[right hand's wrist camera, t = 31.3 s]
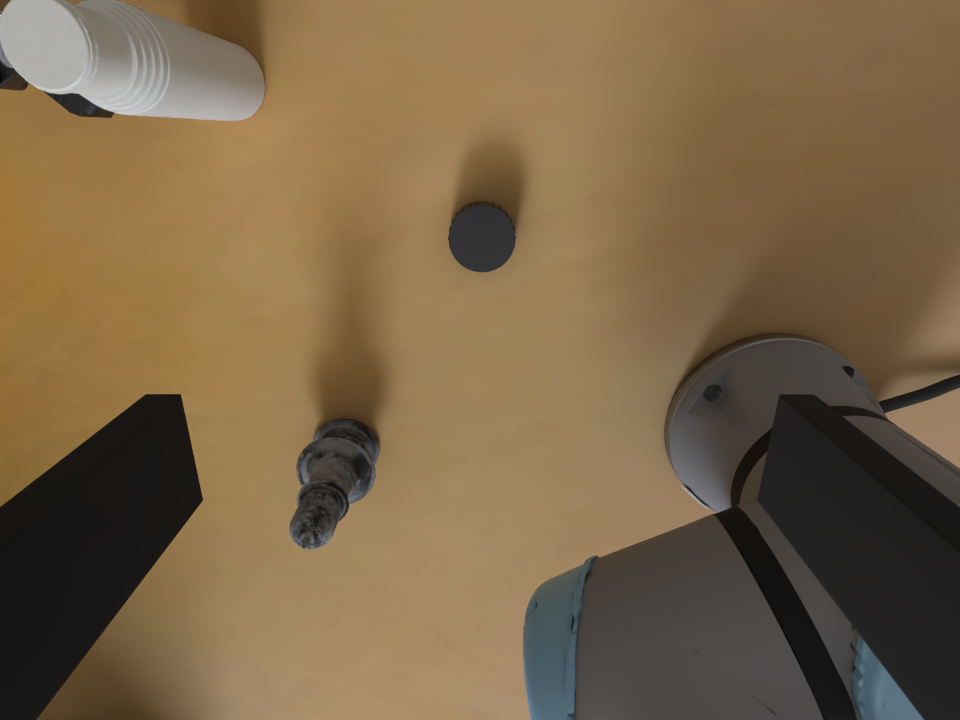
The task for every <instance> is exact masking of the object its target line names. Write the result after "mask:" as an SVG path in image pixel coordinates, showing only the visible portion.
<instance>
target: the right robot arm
mask: <svg viewBox="0 0 960 720" xmlns="http://www.w3.org/2000/svg"><path fill="white" fill-rule="evenodd" d="M957 388H960V375H957V376H954V377H951V378H948V379H945V380H942V381H940V382H938V383H935V384H933V385H930V386H928V387H925V388H923V389H920V390H917V391H913V392H910V393H907V394H903V395H900V396H897V397H893V398H890V399H887V400H883V401H880V402H878V401H877V399H876V397H875V396H874V394H873V392H872V390H871V389H870V387H869V385H868V383H867V382H866V380H865V379H864V377H863V376H862V375H861V373H860V372H859V371H858V370H857V369H856V368H855V367H854V366H853V365H852V364H851V363H850V362H849V361H848V360H847V359H846V358H845V357H843V356H842V355H840V354H839V353H838V352H836V351H834V350H833V349H831V348H829V347H828V346H826V345H824V344H822V343H820V342H818V341H816V340H813V339H810V338H807V337H804V336H799V335H793V334H766V335H759V336H754V337H750V338H747V339H743V340H740V341H738V342H735V343H733V344H730V345H728V346H726V347H724V348H722V349H721V350H719V351H717V352H715V353H714V354H712V355H711V356H709V357H708V358H707V359H705V360H704V361H703V362H702V363H700V364H699V365H698V366H697V367H696V368H695V369H694V370H693V371H692V372H691V373H690V374H689V375H688V377H687V378H686V379H685V380H684V381H683V383H682V384H681V386H680V387H679V389H678V390H677V392H676V394H675V395H674V398H673V400H672V402H671V404H670V407H669V410H668V413H667V417H666V421H665V429H664V439H665V447H666V452H667V455H668V458H669V461H670V463H671V465H672V467H673V469H674V471H675V473H676V474H677V476H678V478H679V479H680V481H681V482H682V483H683V485H684V486H685V487H686V488H687V489H688V490H689V491H688V490H687V489H685V488H684V487H682V486H681V485H680V486H681V487H682V488H683V489H684V490H685V491H687V492H688V493H689V494H690V495H691V496H692V497H693V498H694V499H695V500H696V501H697V502H698V503H699V504H700V505H702V506H703V507H705V506H707V507H709V508H710V509H712V510H714V511H715V512H717V513H716V514H712V515H709V516H707V517H704V518H702V519H699V520H697V521H694V522H692V523H689V524H687V525H685V526H682V527H679V528H677V529H674V530H671V531H669V532H666V533H664V534H661V535H658V536H656V537H653V538H650V539H648V540H645V541H642V542H640V543H637V544H635V545H632V546H629V547H627V548H624V549H621V550H619V551H616V552H613V553H611V554H608V555H606V556H603V557H598V556H597V555H596V556H593V557H590V558H588V559H587V560H586V561H585V562H584V564H583V565H580V566H578V567H576V568H574V569H572V570H569V571H567V572H565V573H563V574H561V575H558V576H556V577H554V578H552V579H549V580H547V581H546V582H544V583H543V584H542V585H540V586H539V587H538V588H537V590H536V591H535V592H534V594H533V596H532V597H531V599H530V602H529V604H528V607H527V611H526V616H525V625H524V630H523V665H524V676H525V686H526V693H527V700H528V706H529V711H530V717H531V720H960V468H958V467H957V466H955V465H954V464H952V463H951V462H949V461H948V460H946V459H945V458H943V457H942V456H940V455H939V454H938V453H936V452H935V451H933V450H932V449H930V448H929V447H927V446H926V445H924V444H923V443H921V442H920V441H918V440H917V439H915V438H914V437H913V436H911V435H910V434H908V433H907V432H905V431H904V430H902V429H901V428H899V427H898V426H896V425H895V424H894V423H892V422H891V421H889V420H888V419H887V417H886V415H885V413H886V412H889V411H893V410H896V409H899V408H903V407H906V406H909V405H913V404H916V403H919V402H923V401H926V400H929V399H932V398H934V397H937V396H940V395H942V394H944V393H947V392H949V391H952V390H954V389H957ZM202 501H203V498H202V493H201V488H200V484H199V479H198V474H197V469H196V465H195V460H194V455H193V450H192V446H191V441H190V436H189V431H188V426H187V422H186V417H185V412H184V407H183V403H182V398H181V394H146V395H144V396H143V397H142V398H141V399H139V400H138V401H137V402H135V403H134V404H133V405H131V406H130V407H129V408H128V409H126V410H125V411H124V412H122V413H121V414H120V415H119V416H117V417H116V418H115V419H113V420H112V421H111V422H110V423H108V424H107V425H106V426H104V427H103V428H102V429H101V430H99V431H98V432H97V433H95V434H94V435H93V436H91V437H90V438H89V439H88V440H86V441H85V442H84V443H82V444H81V445H80V446H79V447H77V448H76V449H75V450H73V451H72V452H71V453H70V454H68V455H67V456H66V457H64V458H63V459H62V460H61V461H59V462H58V463H57V464H55V465H54V466H53V467H52V468H50V469H49V470H48V471H46V472H45V473H44V474H42V475H41V476H40V477H39V478H37V479H36V480H35V481H33V482H32V483H31V484H30V485H28V486H27V487H26V488H24V489H23V490H22V491H21V492H19V493H18V494H17V495H15V496H14V497H13V498H12V499H10V500H9V501H8V502H6V503H5V504H4V505H2V506H1V507H0V720H36V719H37V718H38V717H39V715H40V714H41V713H42V712H43V710H44V709H45V708H46V706H47V705H48V704H49V702H50V701H51V700H52V698H53V697H54V696H55V694H56V693H57V692H58V690H59V689H60V688H61V686H62V685H63V684H64V683H65V681H66V680H67V679H68V677H69V676H70V675H71V673H72V672H73V671H74V669H75V668H76V667H77V665H78V664H79V663H80V661H81V660H82V659H83V658H84V656H85V655H86V654H87V652H88V651H89V650H90V648H91V647H92V646H93V644H94V643H95V642H96V640H97V639H98V638H99V636H100V635H101V634H102V632H103V631H104V630H105V629H106V627H107V626H108V625H109V623H110V622H111V621H112V619H113V618H114V617H115V615H116V614H117V613H118V611H119V610H120V609H121V607H122V606H123V605H124V604H125V602H126V601H127V600H128V598H129V597H130V596H131V594H132V593H133V592H134V590H135V589H136V588H137V586H138V585H139V584H140V582H141V581H142V580H143V578H144V577H145V576H146V575H147V573H148V572H149V571H150V569H151V568H152V567H153V565H154V564H155V563H156V561H157V560H158V559H159V557H160V556H161V555H162V553H163V552H164V551H165V550H166V548H167V547H168V546H169V544H170V543H171V542H172V540H173V539H174V538H175V536H176V535H177V534H178V532H179V531H180V530H181V528H182V527H183V526H184V524H185V523H186V522H187V521H188V519H189V518H190V517H191V515H192V514H193V513H194V511H195V510H196V509H197V507H198V506H199V505H200V503H201V502H202ZM703 504H704V505H705V506H704V505H703ZM705 508H706V507H705ZM706 509H707V508H706Z"/></svg>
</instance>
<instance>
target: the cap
mask: <svg viewBox="0 0 960 720" xmlns="http://www.w3.org/2000/svg"><path fill="white" fill-rule="evenodd" d="M449 231H450V232H449V237H448V239H449V247H450V249H451V252H452V254H453V256H454V258H455V259H456V260H457V261H458V262H459V263H460V264H461V265H462V266H463V267H465V268H467V269H469V270H471V271H475V272H489V271H493V270H495V269H497V268H499V267H501V266H502V265H503V264H504V263H505V262H506V261H507V260H508V259H509V258H510V256H511V254H512V252H513V249H514V247H515V239H516V237H515V232H514V231H515V228H514V226H513V225H512V220H511V218H509V216H508V214H507V212H505V211H504V210H503V209H501V207H499V206H497V205H495V204H494V203H493V204H492V203H489V202H486V201H485V202H478V201H477V202H475V203H472V204H471V203H470V204H469V205H467V206H465V207H463V208H462V209H461V210H460V211H459V212H457V214H456V216H455V218H454V219H453V220H452V225H451V226H450V229H449Z"/></svg>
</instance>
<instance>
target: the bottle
mask: <svg viewBox="0 0 960 720" xmlns="http://www.w3.org/2000/svg"><path fill="white" fill-rule="evenodd" d="M0 42H1V45H2V48H3V51H4V53H5V55H6V57H7V59H8V61H9V62H10V64H11V65H12V67H13V68H14V69H15V70H16V71H17V72H18V73H19V74H20V75H21V76H22V77H23V78H24V79H25V80H26V81H27V82H29V83H30V84H32V85H33V86H35V87H36V88H38V89H40V90H43V91H45V92H48V93H54V94H67V93H76V94H80V95H81V96H83V97H84V98H86V99H87V100H89V101H90V102H92V103H94V104H95V105H97V106H99V107H101V108H103V109H105V110H108V111H111V112H114V113H118V114H123V115H137V116H155V117H172V118H189V119H206V120H224V121H240V120H244V119H247V118H249V117H250V116H252V115H253V114H254V113H255V112H256V111H257V110H258V109H259V107H260V106H261V104H262V102H263V98H264V94H265V81H264V76H263V73H262V70H261V68H260V66H259V64H258V62H257V61H256V60H255V58H254V57H253V56H252V55H251V54H250V53H249V52H248V51H247V50H245V49H244V48H242V47H241V46H239V45H237V44H234V43H231V42H229V41H226V40H223V39H221V38H218V37H215V36H213V35H210V34H207V33H204V32H202V31H199V30H196V29H194V28H191V27H188V26H186V25H183V24H180V23H178V22H175V21H172V20H170V19H167V18H164V17H162V16H159V15H156V14H154V13H151V12H148V11H146V10H143V9H140V8H137V7H135V6H132V5H129V4H127V3H124V2H121V1H117V0H87V1H83V2H80V3H76V4H72V3H69V2H67V1H66V0H11V1H10V2H9V3H8V4H7V5H6V6H5V8H4V10H3V12H2V14H1V17H0Z"/></svg>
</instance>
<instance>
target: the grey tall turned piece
mask: <svg viewBox="0 0 960 720" xmlns="http://www.w3.org/2000/svg"><path fill="white" fill-rule="evenodd" d="M378 454H379V445H378V442H377V439H376V437H375V436H374V434H373V433H372V431H371V430H369V429H368V428H367V427H366V426H365V425H363V424H361V423H359V422H357V421H353V420H349V419H339V420H334V421H331V422H329V423H327V424H325V425H324V426H322V427H321V428H320V429H319V430H318V432H317V434H316V436H315V437H314V442H312V443H310V444H309V445H308V446H307V447H306V448H305V449H304V450H303V451H302V453H301V455H300V456H299V458H298V462H297V476H298V478H299V481H300V483H301V485H302V486H303V487H302V488H301V490H300V491H299V493H298V496H297V506H298V508H297V510H296V512H295V514H294V516H293V518H292V520H291V524H290V535H291V537H292V539H293V540H294V541H295V543H296V544H298V545H299V546H301V547H302V548H303V549H305V548H307V549H315V548H320V547H322V546H324V545H325V544H327V543H328V542H329V540H330V539H331V538H332V536H333V534H334V531H335V528H336V525H337V523H338V521H340V520H341V519H342V518H343V517H344V516H345V515H346V513H347V512H348V508H349V504H351V503H354V502H356V501H359V500H361V499H362V498H363V497H364V496H366V495H367V494H368V493H369V491H370V490H371V488H372V487H373V484H374V480H375V467H374V464H375V463H376V461H377V458H378Z"/></svg>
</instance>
